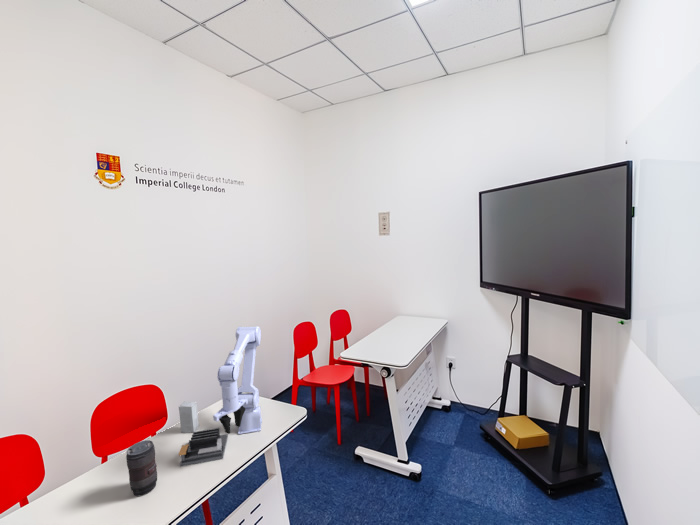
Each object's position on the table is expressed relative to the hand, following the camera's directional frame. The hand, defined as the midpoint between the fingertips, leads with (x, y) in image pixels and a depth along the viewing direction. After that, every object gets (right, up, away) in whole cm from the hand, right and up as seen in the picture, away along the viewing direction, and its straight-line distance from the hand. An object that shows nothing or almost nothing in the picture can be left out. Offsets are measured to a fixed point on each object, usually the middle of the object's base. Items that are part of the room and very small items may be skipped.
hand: (233, 429), depth 128 cm
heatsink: (-12, -10, +2) cm, 15 cm away
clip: (-8, -8, -1) cm, 12 cm away
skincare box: (-25, -9, +17) cm, 31 cm away
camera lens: (-24, -12, -16) cm, 32 cm away
